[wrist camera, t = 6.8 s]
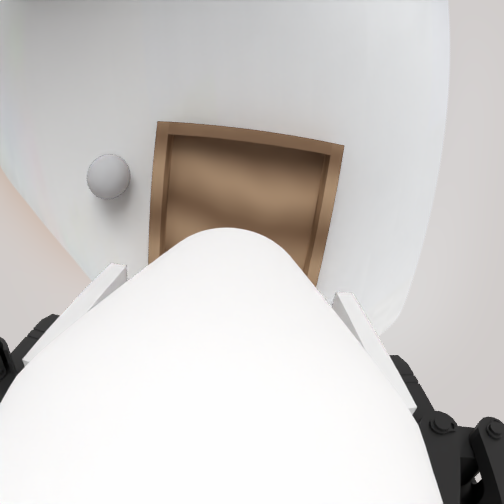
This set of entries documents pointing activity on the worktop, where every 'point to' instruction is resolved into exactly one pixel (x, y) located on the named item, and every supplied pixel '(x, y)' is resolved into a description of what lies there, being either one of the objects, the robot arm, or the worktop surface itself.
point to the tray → (243, 188)
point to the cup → (210, 395)
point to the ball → (108, 176)
